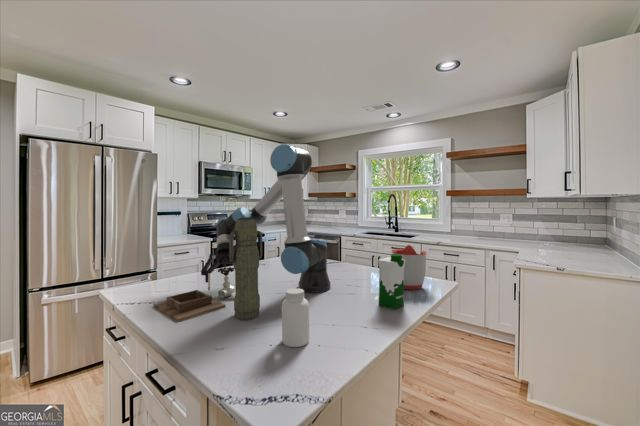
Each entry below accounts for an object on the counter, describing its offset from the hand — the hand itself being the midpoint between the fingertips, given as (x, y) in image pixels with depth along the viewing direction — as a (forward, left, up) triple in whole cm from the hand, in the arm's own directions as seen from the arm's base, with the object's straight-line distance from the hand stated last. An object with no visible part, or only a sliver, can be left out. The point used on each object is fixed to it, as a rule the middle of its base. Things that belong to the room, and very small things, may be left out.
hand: (226, 287), depth 123 cm
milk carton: (-56, -38, -5) cm, 68 cm away
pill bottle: (-49, +7, -5) cm, 50 cm away
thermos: (-22, +5, -5) cm, 23 cm away
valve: (+2, -1, -5) cm, 5 cm away
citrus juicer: (-51, -66, -5) cm, 84 cm away
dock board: (+2, +15, -5) cm, 16 cm away
